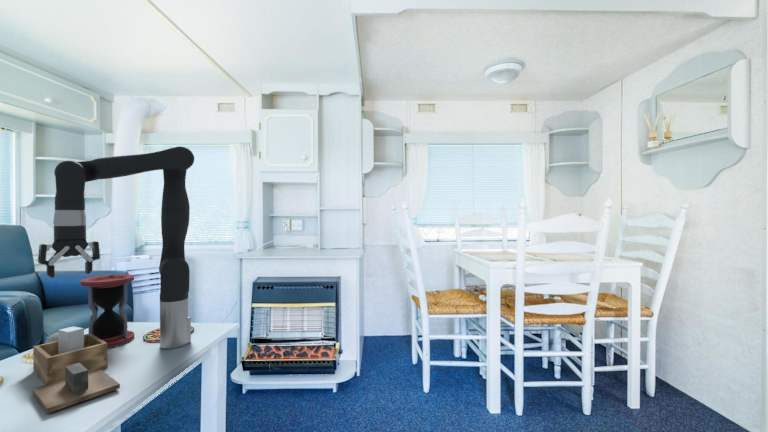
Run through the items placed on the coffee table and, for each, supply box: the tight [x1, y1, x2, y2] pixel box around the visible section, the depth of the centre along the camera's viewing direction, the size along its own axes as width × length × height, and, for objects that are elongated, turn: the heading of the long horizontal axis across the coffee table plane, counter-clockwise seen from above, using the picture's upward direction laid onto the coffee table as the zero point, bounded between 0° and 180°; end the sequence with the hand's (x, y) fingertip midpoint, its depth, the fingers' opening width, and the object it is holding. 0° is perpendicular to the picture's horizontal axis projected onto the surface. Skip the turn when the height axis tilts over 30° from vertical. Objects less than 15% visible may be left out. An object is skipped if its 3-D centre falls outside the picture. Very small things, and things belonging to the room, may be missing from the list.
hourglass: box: [80, 273, 135, 349], centre depth 131 cm, size 16×16×25 cm
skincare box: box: [57, 325, 85, 355], centre depth 108 cm, size 6×4×12 cm
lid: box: [32, 363, 121, 414], centre depth 94 cm, size 15×17×7 cm
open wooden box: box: [32, 333, 109, 385], centre depth 108 cm, size 14×16×8 cm
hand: (70, 275), depth 107 cm, fingers open, 8 cm apart
